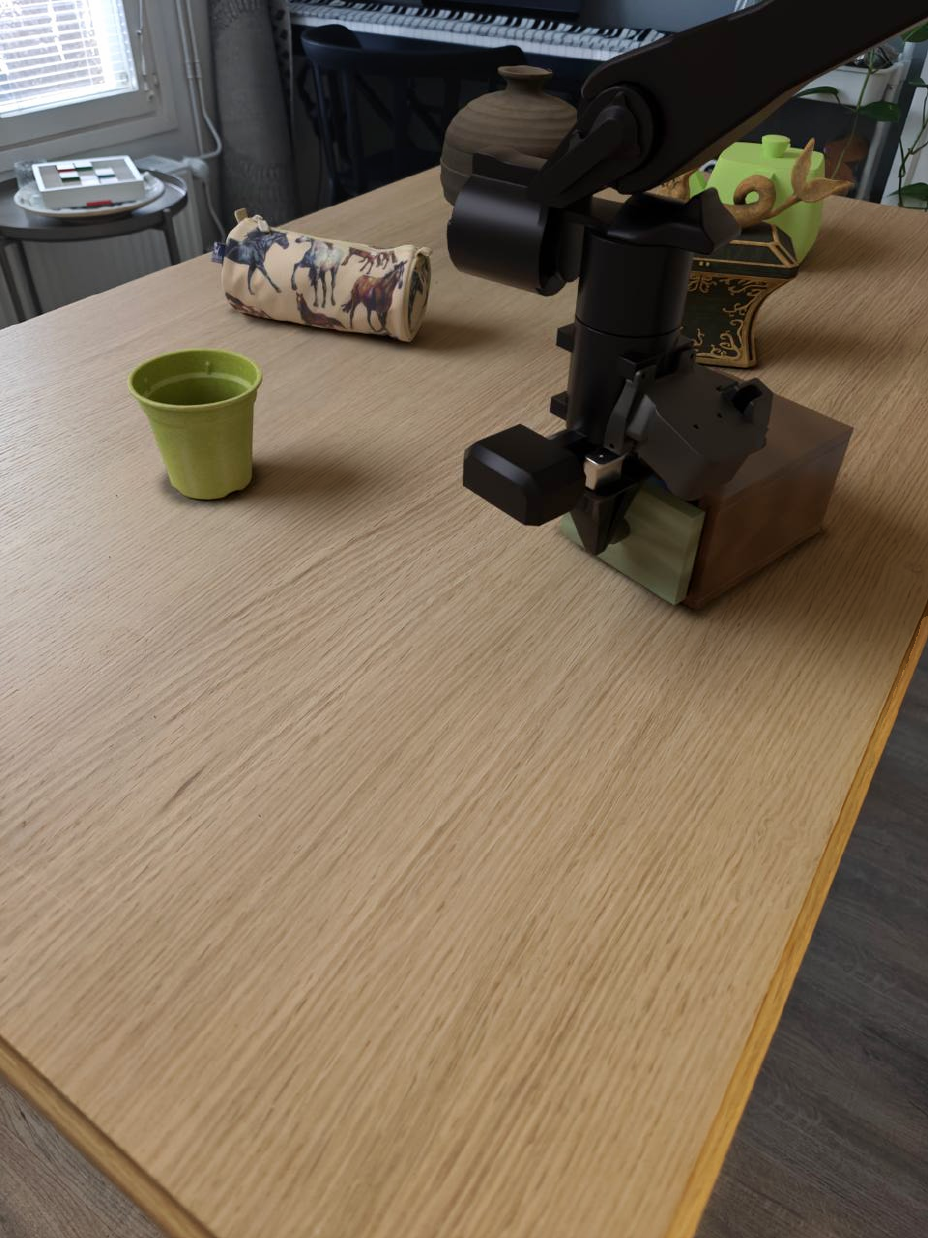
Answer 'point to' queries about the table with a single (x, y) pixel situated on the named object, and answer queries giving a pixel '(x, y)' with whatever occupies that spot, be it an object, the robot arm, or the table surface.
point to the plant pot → (201, 416)
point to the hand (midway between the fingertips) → (594, 551)
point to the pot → (505, 125)
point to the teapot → (777, 166)
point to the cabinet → (769, 498)
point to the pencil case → (324, 280)
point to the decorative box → (743, 265)
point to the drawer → (654, 541)
